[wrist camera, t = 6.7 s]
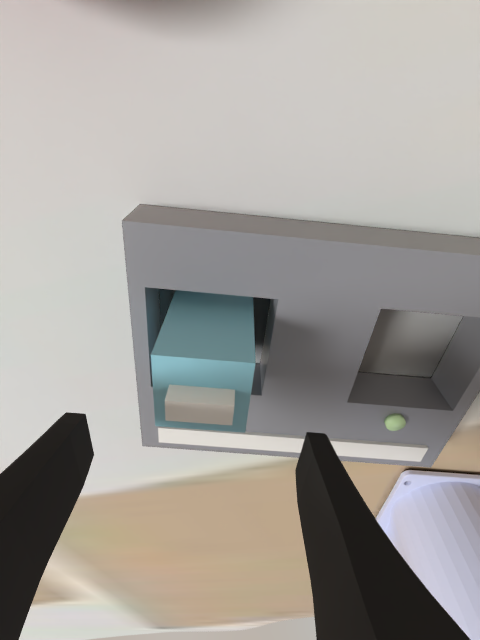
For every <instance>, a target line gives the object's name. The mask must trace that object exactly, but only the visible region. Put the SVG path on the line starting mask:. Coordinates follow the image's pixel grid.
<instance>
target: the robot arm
mask: <svg viewBox="0 0 480 640" xmlns="http://www.w3.org/2000/svg"><path fill="white" fill-rule="evenodd" d="M93 456H94V452H93V448H92V443H91V438H90V433H89V429H88V424H87V419H86V414H79V413H67V412H66V413H65V414H64V415H63V416H62V417H61V418H60V419H58V420H57V421H56V422H55V423H54V424H53V425H52V426H51V427H50V428H49V429H48V430H47V431H46V432H45V433H44V434H43V435H42V436H41V437H40V438H39V439H38V440H37V441H36V442H35V443H33V444H32V445H31V446H30V447H29V448H28V449H27V450H26V451H25V452H24V453H23V454H22V455H21V456H19V457H18V458H17V459H16V460H15V461H14V462H13V463H12V464H11V465H10V466H9V467H7V468H6V469H5V470H4V471H3V472H2V473H1V474H0V640H19V637H20V634H21V631H22V628H23V625H24V623H25V620H26V617H27V614H28V612H29V609H30V606H31V604H32V601H33V598H34V596H35V593H36V590H37V588H38V585H39V582H40V580H41V577H42V575H43V573H44V570H45V568H46V566H47V563H48V561H49V559H50V557H51V555H52V552H53V550H54V548H55V546H56V544H57V542H58V540H59V538H60V535H61V533H62V531H63V529H64V527H65V525H66V523H67V521H68V518H69V516H70V514H71V512H72V510H73V508H74V506H75V503H76V501H77V499H78V497H79V495H80V493H81V490H82V488H83V486H84V483H85V480H86V477H87V474H88V471H89V468H90V465H91V462H92V459H93ZM296 488H297V502H298V509H299V515H300V521H301V527H302V533H303V538H304V544H305V550H306V556H307V562H308V568H309V573H310V579H311V587H312V594H313V603H314V614H315V625H316V637H317V640H480V475H473V474H459V473H445V472H432V471H418V470H406V471H404V472H402V474H401V475H400V477H399V479H398V481H397V482H396V484H395V486H394V488H393V489H392V491H391V493H390V495H389V496H388V498H387V500H386V502H385V503H384V505H383V507H382V508H381V510H380V512H379V514H378V515H377V517H376V519H375V517H374V516H373V514H372V513H371V511H370V510H369V508H368V507H367V505H366V503H365V502H364V500H363V498H362V497H361V495H360V494H359V492H358V490H357V489H356V487H355V485H354V484H353V482H352V480H351V479H350V477H349V475H348V473H347V472H346V470H345V468H344V466H343V465H342V463H341V461H340V459H339V457H338V455H337V454H336V452H335V450H334V448H333V446H332V444H331V442H330V440H329V438H328V436H327V435H326V434H325V433H313V432H307V433H306V436H305V439H304V443H303V446H302V450H301V453H300V457H299V460H298V463H297V467H296Z"/></svg>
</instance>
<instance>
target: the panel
mask: <svg viewBox="0 0 480 640" xmlns="http://www.w3.org/2000/svg"><path fill="white" fill-rule="evenodd" d="M122 228H123V239H124V250H125V261H126V272H127V282H128V293H129V304H130V315H131V326H132V337H133V348H134V359H135V370H136V381H137V392H138V402H139V413H140V424H141V435H142V446H148V447H162V448H175V449H189V450H202V451H216V452H229V453H243V454H256V455H270V456H284V457H297V458H299V457H300V453H301V450H302V446H303V443H304V439H305V436H306V433H307V432H313V433H325V434H326V435H327V436H328V438H329V440H330V442H331V444H332V446H333V448H334V450H335V452H336V454H337V455H338V457H339V459H340V461H351V462H365V463H378V464H392V465H405V466H419V467H431V466H432V465H433V463H434V462H435V460H436V459H437V457H438V456H439V454H440V452H441V451H442V449H443V448H444V446H445V445H446V443H447V441H448V440H449V438H450V437H451V435H452V434H453V432H454V430H455V429H456V427H457V426H458V424H459V423H460V421H461V420H462V418H463V416H464V415H465V413H466V412H467V410H468V409H469V407H470V405H471V404H472V402H473V401H474V399H475V398H476V396H477V394H478V393H479V391H480V238H475V237H465V236H455V235H445V234H435V233H425V232H415V231H405V230H395V229H384V228H374V227H364V226H354V225H344V224H334V223H324V222H314V221H304V220H294V219H283V218H273V217H263V216H253V215H243V214H233V213H223V212H213V211H203V210H193V209H182V208H172V207H162V206H152V205H142V204H139V205H138V206H137V207H136V208H135V209H134V210H133V211H132V212H131V213H130V214H129V215H127V216H126V217H125V218H124V219H123V220H122ZM159 289H170V290H181V291H192V292H203V293H214V294H225V295H236V296H247V297H259V298H270V305H269V311H268V318H267V324H266V330H265V336H264V343H263V349H262V355H261V361H260V364H255V370H254V377H253V383H252V390H251V397H250V404H249V410H248V417H247V424H246V431H245V433H241V432H228V431H214V430H201V429H187V428H174V427H160V426H155V414H154V398H153V381H152V365H151V353H152V351H153V348H154V345H155V343H156V340H157V338H158V335H159V332H160V330H161V329H160V302H159ZM381 309H391V310H402V311H413V312H424V313H435V314H446V315H458V316H463V318H462V320H461V322H460V324H459V326H458V328H457V330H456V331H455V333H454V335H453V337H452V339H451V341H450V343H449V345H448V347H447V349H446V351H445V353H444V355H443V356H442V358H441V360H440V362H439V364H438V366H437V368H436V370H435V372H434V374H433V376H432V378H421V377H409V376H397V375H385V374H373V373H361V372H358V371H359V368H360V365H361V362H362V360H363V357H364V354H365V351H366V349H367V346H368V343H369V340H370V338H371V335H372V332H373V329H374V327H375V324H376V321H377V318H378V316H379V313H380V310H381Z"/></svg>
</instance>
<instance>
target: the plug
mask: <svg viewBox="0 0 480 640" xmlns="http://www.w3.org/2000/svg"><path fill="white" fill-rule="evenodd" d="M151 365H152V381H153V398H154V414H155V426H160V427H174V428H187V429H201V430H214V431H228V432H241V433H245V431H246V424H247V417H248V410H249V404H250V397H251V390H252V383H253V377H254V370H255V336H254V308H253V297H247V296H236V295H225V294H214V293H203V292H192V291H181V290H176V291H175V293H174V296H173V299H172V301H171V304H170V306H169V309H168V312H167V314H166V317H165V319H164V322H163V325H162V327H161V330H160V332H159V335H158V338H157V340H156V343H155V345H154V348H153V351H152V353H151Z"/></svg>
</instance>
